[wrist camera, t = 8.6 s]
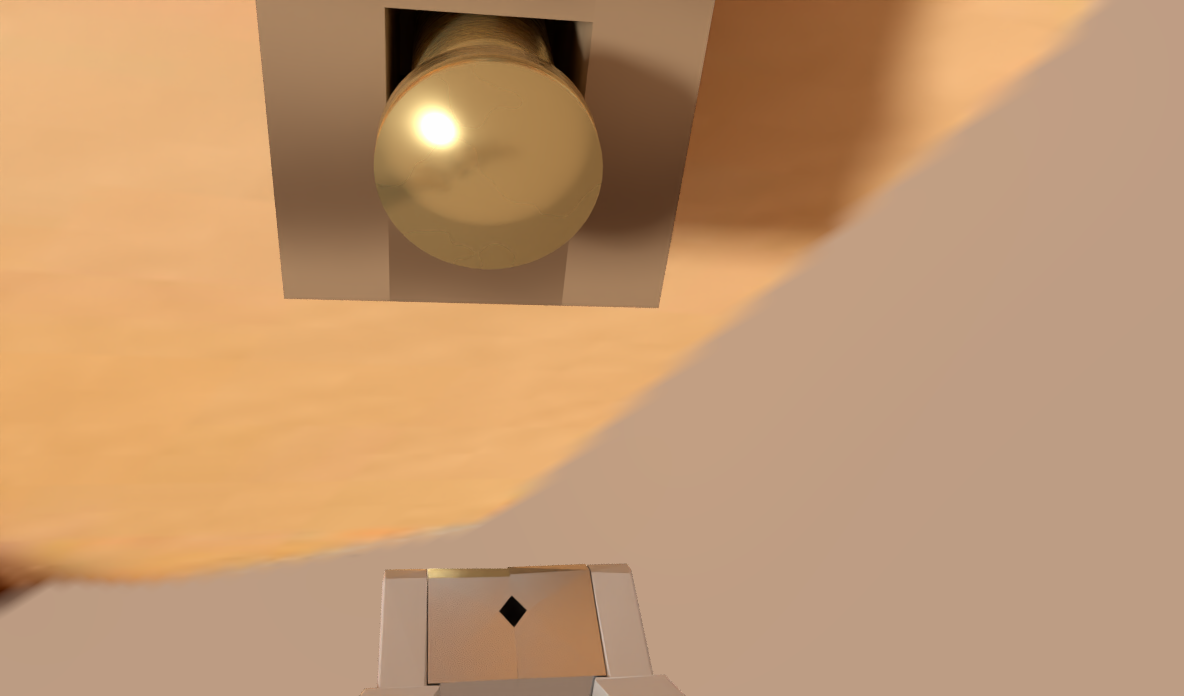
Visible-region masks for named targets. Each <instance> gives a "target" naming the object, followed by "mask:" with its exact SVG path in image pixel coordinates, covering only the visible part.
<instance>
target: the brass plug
mask: <svg viewBox="0 0 1184 696" xmlns="http://www.w3.org/2000/svg"><path fill="white" fill-rule="evenodd" d="M602 175H603V160H602V151H601V147H600V142H599V138H598V135H597V131H596V127H595V123H594V119H593V117H592V114H591V112H590V109H589V106H588V105H587V103H586V101H585V99H584V97H583V96H582V94H581V93H580V91H579V90H578V89H577V87H576V86H575V85H574V84H573V82H572V81H571V80H570V79H569V78H568V77H567V76H566V75H565V74H564V73H562V72H561V71H560V70H558V69H557V68H556V67H554V62H553V57H552V53H551V48H550V43H549V39H548V34H547V29H546V25H545V20H544V19H541V18H527V17H513V16H499V15H485V14H471V13H457V12H443V11H429V10H416V18H415V30H414V42H413V54H412V67H411V72H410V73H409V74H408V75H407V76H406V77H405V78H404V79H403V80H402V81H401V82H400V83H399V85H398V86H397V87H396V89H395V90H394V91H393V93H392V94H391V96H390V98H389V100H388V101H387V103H386V105H385V107H384V110H383V113H382V115H381V118H380V122H379V127H378V132H377V139H376V146H375V153H374V177H375V184H376V188H377V192H378V196H379V198H380V200H381V203H382V205H383V208H384V209H385V211H386V213H387V215H388V216H389V218H390V220H391V221H392V222H393V224H394V225H395V226H396V227H397V229H398V230H399V231H400V232H401V233H402V234H403V235H404V236H405V237H406V238H407V239H408V240H409V241H410V242H412V243H413V244H414V245H416V246H417V247H418V248H420V249H421V250H423V251H425V252H426V253H428V254H430V255H431V256H434V257H436V258H438V259H440V260H442V261H445V262H448V263H451V264H454V265H458V266H463V267H468V268H475V269H503V268H510V267H515V266H519V265H523V264H527V263H530V262H532V261H535V260H538V259H540V258H542V257H544V256H546V255H548V254H550V253H552V252H553V251H555V250H556V249H558V248H559V247H561V246H562V245H563V244H565V243H566V242H567V241H568V240H569V239H570V238H572V237H573V236H574V235H575V234H576V232H577V231H578V230H579V229H580V228H581V227H582V226H583V224H584V223H585V221H586V220H587V218H588V217H589V215H590V213H591V211H592V210H593V208H594V206H595V204H596V201H597V198H598V195H599V192H600V188H601V183H602Z"/></svg>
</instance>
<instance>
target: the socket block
mask: <svg viewBox="0 0 1184 696" xmlns="http://www.w3.org/2000/svg"><path fill="white" fill-rule="evenodd" d="M714 4H715V0H256V9H257V20H258V30H259V41H260V51H261V61H262V72H263V82H264V93H265V103H266V114H267V124H268V134H269V145H270V155H271V166H272V176H273V186H274V197H275V207H276V218H277V228H278V238H279V249H280V259H281V270H282V280H283V290H284V299H320V300H360V301H399V302H439V303H479V304H518V305H558V306H597V307H637V308H659V302H660V297H661V291H662V286H663V280H664V275H665V270H666V264H667V259H668V253H669V248H670V242H671V237H672V232H673V226H674V221H675V215H676V210H677V204H678V199H679V194H680V188H681V183H682V177H683V172H684V166H685V161H686V156H687V150H688V145H689V139H690V134H691V128H692V123H693V118H694V112H695V107H696V101H697V96H698V90H699V85H700V80H701V74H702V69H703V63H704V58H705V52H706V47H707V42H708V36H709V31H710V25H711V20H712V14H713V9H714ZM416 10H429V11H443V12H457V13H471V14H485V15H499V16H513V17H527V18H541V19H544V20H545V25H546V29H547V34H548V39H549V43H550V48H551V53H552V57H553V62H554V67H556V68H557V69H558V70H560V71H561V72H562V73H564V74H565V75H566V76H567V77H568V78H569V79H570V80H571V81H572V82H573V84H574V85H575V86H576V87H577V89H578V90H579V91H580V93H581V94H582V96H583V97H584V99H585V101H586V103H587V105H588V106H589V109H590V112H591V114H592V117H593V119H594V123H595V127H596V131H597V135H598V138H599V142H600V147H601V151H602V160H603V175H602V183H601V188H600V192H599V195H598V198H597V201H596V204H595V206H594V208H593V210H592V211H591V213H590V215H589V217H588V218H587V220H586V221H585V223H584V224H583V226H582V227H581V228H580V229H579V230H578V231H577V232H576V234H575V235H574V236H573V237H572V238H570V239H569V240H568V241H567V242H566V243H565V244H563V245H562V246H561V247H559V248H558V249H556V250H555V251H553V252H552V253H550V254H548V255H546V256H544V257H542V258H540V259H538V260H535V261H532V262H530V263H527V264H523V265H519V266H515V267H510V268H503V269H475V268H468V267H463V266H458V265H454V264H451V263H448V262H445V261H442V260H440V259H438V258H436V257H434V256H431V255H430V254H428V253H426V252H425V251H423V250H421V249H420V248H418V247H417V246H416V245H414V244H413V243H412V242H410V241H409V240H408V239H407V238H406V237H405V236H404V235H403V234H402V233H401V232H400V231H399V230H398V229H397V227H396V226H395V225H394V224H393V222H392V221H391V220H390V218H389V216H388V215H387V213H386V211H385V209H384V208H383V205H382V203H381V200H380V198H379V196H378V192H377V188H376V184H375V177H374V153H375V146H376V139H377V132H378V127H379V122H380V118H381V115H382V113H383V110H384V107H385V105H386V103H387V101H388V100H389V98H390V96H391V94H392V93H393V91H394V90H395V89H396V87H397V86H398V85H399V83H400V82H401V81H402V80H403V79H404V78H405V77H406V76H407V75H408V74H409V73H410V72H411V67H412V54H413V42H414V30H415V18H416Z"/></svg>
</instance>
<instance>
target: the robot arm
mask: <svg viewBox="0 0 1184 696" xmlns="http://www.w3.org/2000/svg"><path fill="white" fill-rule="evenodd" d="M360 696H685V695H684V694H683V693H682V692H681V691H680V690H679V689H678V688H677V687H676V686H675V685H674V684H673V683H672V681H670V680H669V678H668V677H667V676H666V675H653V671H652V666H651V662H650V657H649V652H648V647H647V643H646V638H645V633H644V628H643V624H642V619H641V614H640V609H639V604H638V600H637V595H636V590H635V585H634V581H633V576H632V571H631V569H630V568H629V566H628V565H627V564H598V565H596V564H595V565H587V566H586V565H585V564H576V565H552V566H526V567H508V568H507V569H428V586H427V569H398V570H397V569H396V570H385V573H384V578H383V585H382V604H381V623H380V642H379V661H378V681H377V688H368V689H364V690H363V692H362V693H361V694H360Z"/></svg>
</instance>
